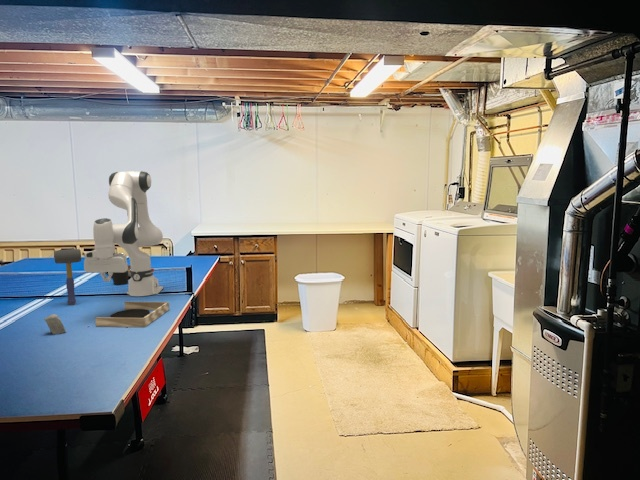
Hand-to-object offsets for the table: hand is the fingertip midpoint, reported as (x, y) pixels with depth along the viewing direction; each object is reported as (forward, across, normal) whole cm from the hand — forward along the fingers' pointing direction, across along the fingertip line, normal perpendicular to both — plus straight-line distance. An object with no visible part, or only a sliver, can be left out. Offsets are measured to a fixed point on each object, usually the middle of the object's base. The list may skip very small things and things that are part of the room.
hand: (107, 281), depth 221 cm
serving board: (+20, +42, -101) cm, 111 cm away
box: (+18, -12, 0) cm, 22 cm away
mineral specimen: (+18, +12, +23) cm, 32 cm away
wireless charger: (+18, -10, 0) cm, 21 cm away
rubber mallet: (+18, +33, -22) cm, 43 cm away
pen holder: (+19, +31, -71) cm, 79 cm away
